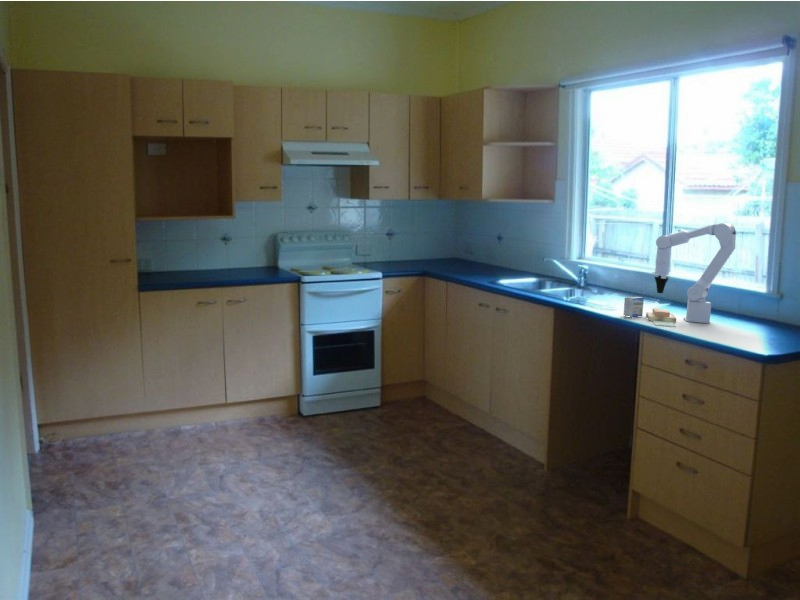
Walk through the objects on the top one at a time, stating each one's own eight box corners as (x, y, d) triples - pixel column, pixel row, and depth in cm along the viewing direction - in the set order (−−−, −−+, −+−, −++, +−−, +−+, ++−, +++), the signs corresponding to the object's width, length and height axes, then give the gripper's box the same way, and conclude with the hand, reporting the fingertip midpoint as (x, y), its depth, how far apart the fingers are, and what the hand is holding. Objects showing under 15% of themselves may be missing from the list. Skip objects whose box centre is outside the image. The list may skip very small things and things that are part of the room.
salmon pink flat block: (666, 313, 321) (667, 309, 321) (669, 317, 313) (669, 312, 312) (652, 312, 322) (652, 308, 322) (654, 316, 314) (655, 311, 313)
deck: (672, 318, 321) (672, 314, 321) (675, 323, 310) (676, 318, 310) (646, 316, 323) (646, 312, 323) (648, 321, 313) (649, 316, 312)
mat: (672, 322, 310) (672, 322, 310) (675, 326, 301) (675, 326, 301) (652, 321, 312) (652, 320, 312) (655, 325, 303) (655, 324, 303)
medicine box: (631, 318, 319) (633, 298, 317) (622, 316, 322) (624, 297, 321) (642, 316, 323) (644, 297, 322) (634, 315, 327) (635, 296, 325)
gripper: (651, 260, 331) (648, 290, 333) (655, 263, 317) (652, 294, 319) (667, 261, 330) (664, 291, 332) (672, 264, 316) (669, 295, 318)
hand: (659, 293), depth 325 cm, fingers closed
